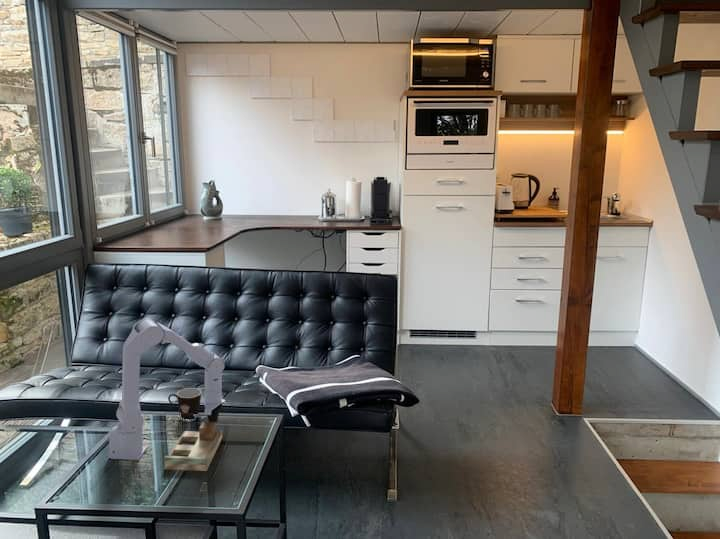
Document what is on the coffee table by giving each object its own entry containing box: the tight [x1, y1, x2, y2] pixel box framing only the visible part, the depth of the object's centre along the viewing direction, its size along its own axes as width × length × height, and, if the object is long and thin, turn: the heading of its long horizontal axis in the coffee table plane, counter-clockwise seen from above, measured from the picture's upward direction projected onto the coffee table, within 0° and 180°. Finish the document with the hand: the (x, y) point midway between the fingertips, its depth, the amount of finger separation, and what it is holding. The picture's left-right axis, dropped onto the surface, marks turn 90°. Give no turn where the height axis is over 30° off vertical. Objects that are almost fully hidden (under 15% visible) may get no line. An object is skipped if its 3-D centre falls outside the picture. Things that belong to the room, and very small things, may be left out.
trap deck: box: [163, 429, 223, 472], centre depth 177 cm, size 13×20×4 cm, turn 0°
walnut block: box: [198, 421, 217, 441], centre depth 183 cm, size 4×4×4 cm
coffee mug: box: [167, 387, 202, 420], centre depth 199 cm, size 12×9×10 cm
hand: (213, 424), depth 190 cm, fingers closed
